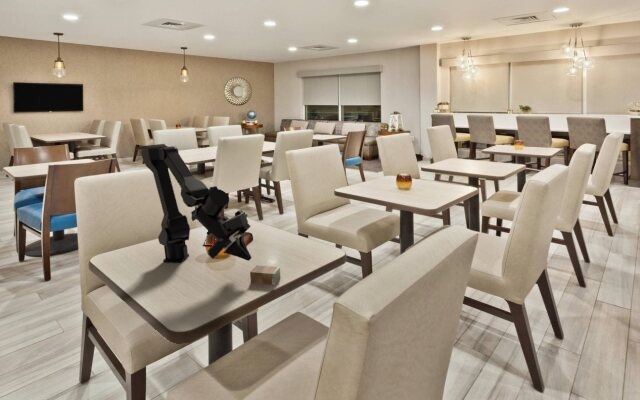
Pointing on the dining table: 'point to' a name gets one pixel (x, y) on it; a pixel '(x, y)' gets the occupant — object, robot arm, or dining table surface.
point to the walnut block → (265, 275)
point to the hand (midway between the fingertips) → (250, 259)
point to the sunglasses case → (247, 238)
